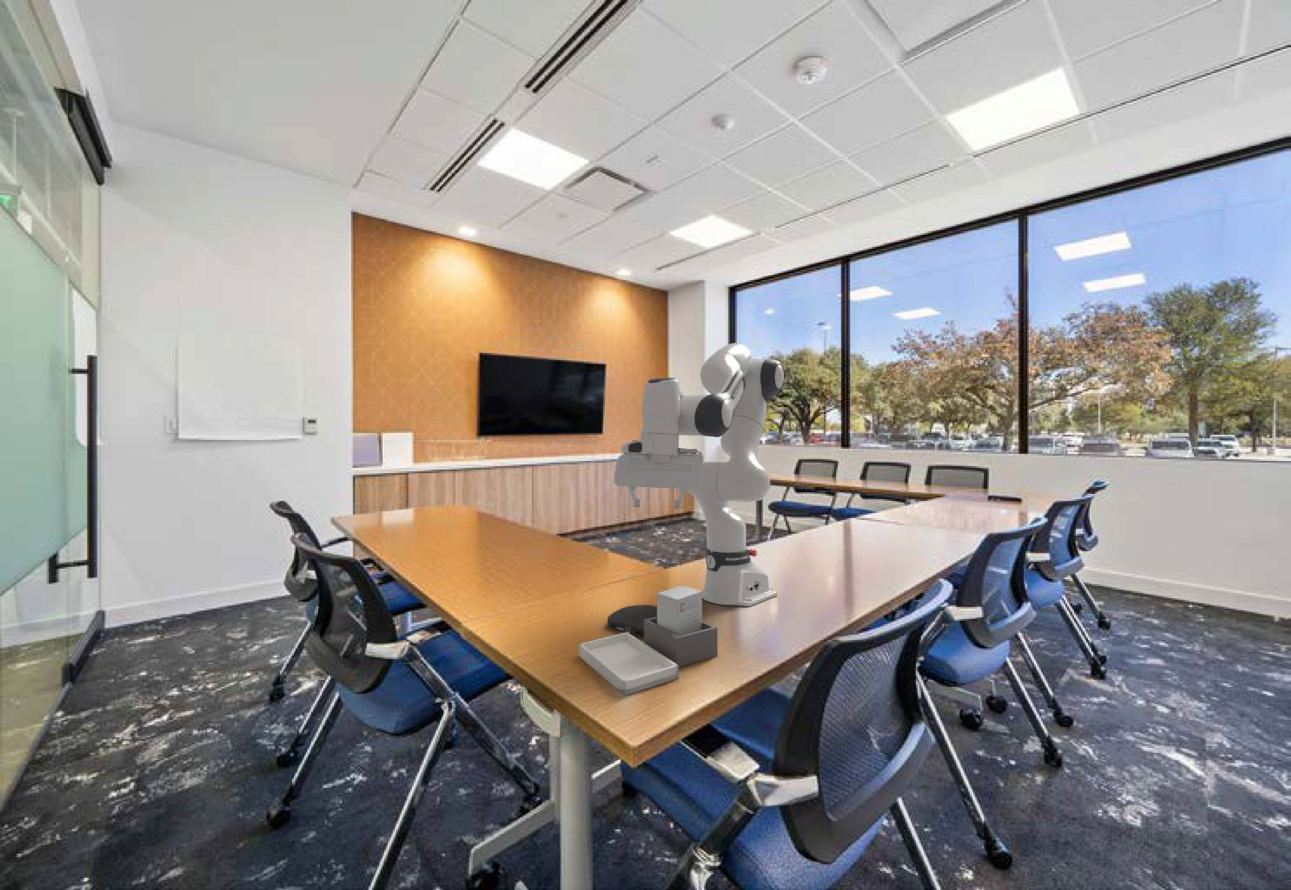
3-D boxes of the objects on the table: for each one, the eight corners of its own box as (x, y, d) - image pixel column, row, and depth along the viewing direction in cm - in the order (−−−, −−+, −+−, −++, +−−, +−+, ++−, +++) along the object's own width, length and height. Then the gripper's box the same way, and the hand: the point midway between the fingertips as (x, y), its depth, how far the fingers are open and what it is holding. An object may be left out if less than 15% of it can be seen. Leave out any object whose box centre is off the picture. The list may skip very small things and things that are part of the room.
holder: (682, 636, 119) (682, 610, 119) (717, 655, 108) (717, 627, 108) (644, 646, 114) (643, 619, 113) (677, 668, 103) (676, 638, 103)
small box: (681, 641, 116) (681, 584, 116) (703, 650, 111) (702, 590, 111) (656, 652, 110) (655, 592, 110) (677, 661, 106) (677, 599, 106)
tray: (627, 643, 116) (627, 632, 115) (678, 678, 99) (678, 665, 98) (578, 655, 109) (578, 644, 109) (624, 695, 92) (624, 682, 92)
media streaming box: (682, 622, 129) (682, 610, 129) (650, 642, 117) (650, 629, 117) (635, 611, 137) (635, 600, 137) (601, 629, 125) (600, 616, 125)
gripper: (700, 449, 121) (698, 507, 121) (614, 445, 119) (612, 504, 119) (706, 449, 115) (704, 510, 115) (616, 444, 113) (613, 507, 112)
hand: (656, 507), depth 117 cm, fingers open, 8 cm apart
